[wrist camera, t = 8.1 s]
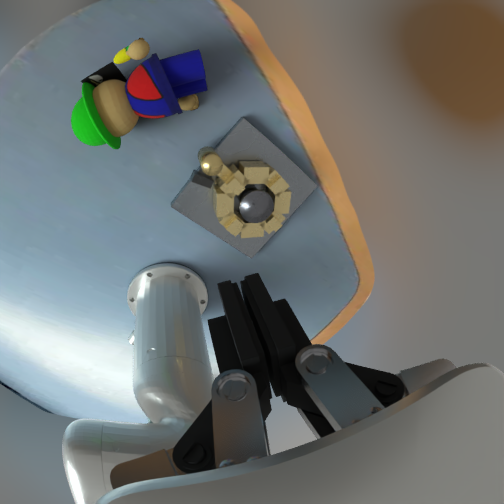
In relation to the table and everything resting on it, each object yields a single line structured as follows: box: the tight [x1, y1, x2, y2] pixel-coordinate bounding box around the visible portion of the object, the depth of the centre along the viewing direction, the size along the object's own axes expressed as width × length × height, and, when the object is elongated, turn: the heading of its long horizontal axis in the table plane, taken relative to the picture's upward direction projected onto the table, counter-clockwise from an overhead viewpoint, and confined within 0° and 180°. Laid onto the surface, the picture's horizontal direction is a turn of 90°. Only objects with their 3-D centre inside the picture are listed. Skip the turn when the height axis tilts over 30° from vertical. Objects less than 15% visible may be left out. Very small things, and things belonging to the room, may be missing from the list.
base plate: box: [171, 117, 317, 258], centre depth 35 cm, size 14×15×6 cm
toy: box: [71, 38, 207, 149], centre depth 24 cm, size 12×9×15 cm
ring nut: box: [198, 147, 291, 238], centre depth 33 cm, size 13×9×5 cm
